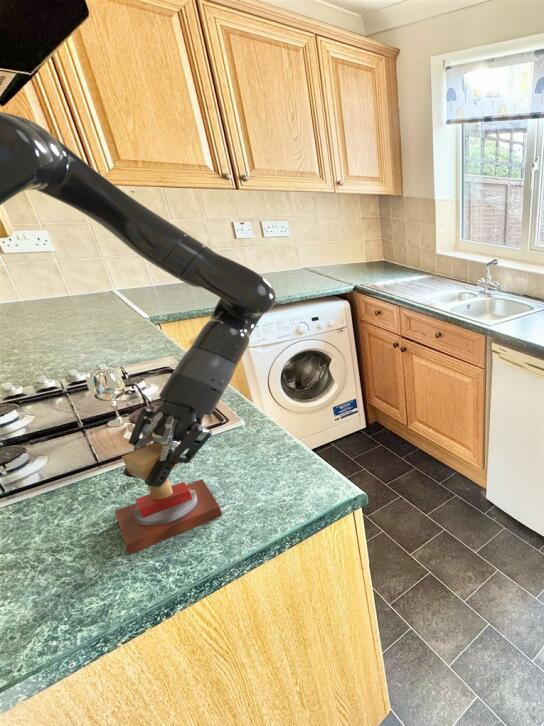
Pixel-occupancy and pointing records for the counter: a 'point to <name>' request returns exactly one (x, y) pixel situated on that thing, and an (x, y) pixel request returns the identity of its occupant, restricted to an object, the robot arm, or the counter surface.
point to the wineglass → (107, 390)
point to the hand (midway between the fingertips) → (141, 480)
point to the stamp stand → (147, 536)
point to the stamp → (158, 490)
